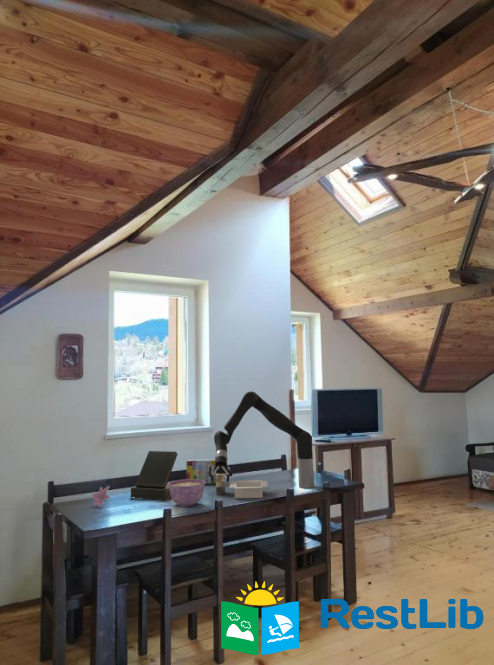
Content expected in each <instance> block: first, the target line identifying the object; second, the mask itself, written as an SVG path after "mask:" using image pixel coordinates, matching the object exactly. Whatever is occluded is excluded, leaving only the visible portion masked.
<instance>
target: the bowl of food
mask: <svg viewBox="0 0 494 665" xmlns="http://www.w3.org/2000/svg"><path fill="white" fill-rule="evenodd" d="M169 482H170V483H168V486H169V490H170V494H171V498H170V499H171V500H172V501H173V502H174V503H175V504H176V505H179V507H193V506H195V504H197V503H198V502H200V501H201V500H202V499H203V494H204V491H205V486H206V484H205V481H204V480H199V479H187V478H184V479H177V480H172V481H169Z"/></svg>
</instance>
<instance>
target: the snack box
mask: <svg viewBox="0 0 494 665" xmlns="http://www.w3.org/2000/svg"><path fill="white" fill-rule="evenodd" d="M210 466H211V467H214V466H215V458H214V459H213V458H212V459H209V458H208V459H188V460H186V479H199V480H204V481H205V485H206V484H210V485H211V484H215V485H216V476H214V483H212V482H211V477H209V474H208V473H209V467H210ZM213 472H214V469H213V471H211V474H212V473H213Z"/></svg>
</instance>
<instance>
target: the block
mask: <svg viewBox="0 0 494 665" xmlns="http://www.w3.org/2000/svg"><path fill="white" fill-rule="evenodd" d="M225 494H226V475H225V473H219V474H216V484H215V495H225Z"/></svg>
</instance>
